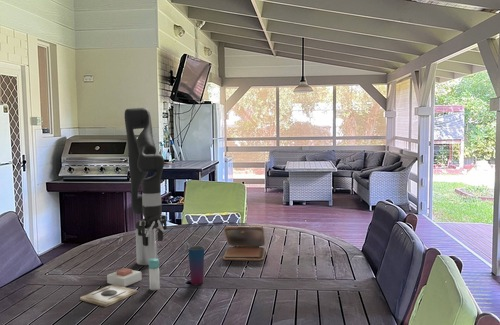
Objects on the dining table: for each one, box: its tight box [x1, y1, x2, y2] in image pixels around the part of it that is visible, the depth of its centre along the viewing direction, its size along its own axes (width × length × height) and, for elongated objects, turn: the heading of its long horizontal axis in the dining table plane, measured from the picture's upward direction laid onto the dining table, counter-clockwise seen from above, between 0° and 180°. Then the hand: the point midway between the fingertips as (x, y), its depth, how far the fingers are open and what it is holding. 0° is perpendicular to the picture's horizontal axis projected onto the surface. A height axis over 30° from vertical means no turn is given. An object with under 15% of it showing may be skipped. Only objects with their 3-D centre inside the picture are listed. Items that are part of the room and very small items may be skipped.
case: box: [222, 225, 266, 262], centre depth 232 cm, size 20×21×16 cm
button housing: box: [106, 269, 143, 288], centre depth 196 cm, size 10×10×4 cm
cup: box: [187, 245, 205, 285], centre depth 193 cm, size 7×7×15 cm
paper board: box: [79, 284, 138, 308], centre depth 179 cm, size 16×14×1 cm
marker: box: [148, 257, 161, 291], centre depth 187 cm, size 4×4×12 cm
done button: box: [116, 267, 133, 276], centre depth 196 cm, size 4×4×3 cm
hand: (153, 243), depth 185 cm, fingers open, 8 cm apart
